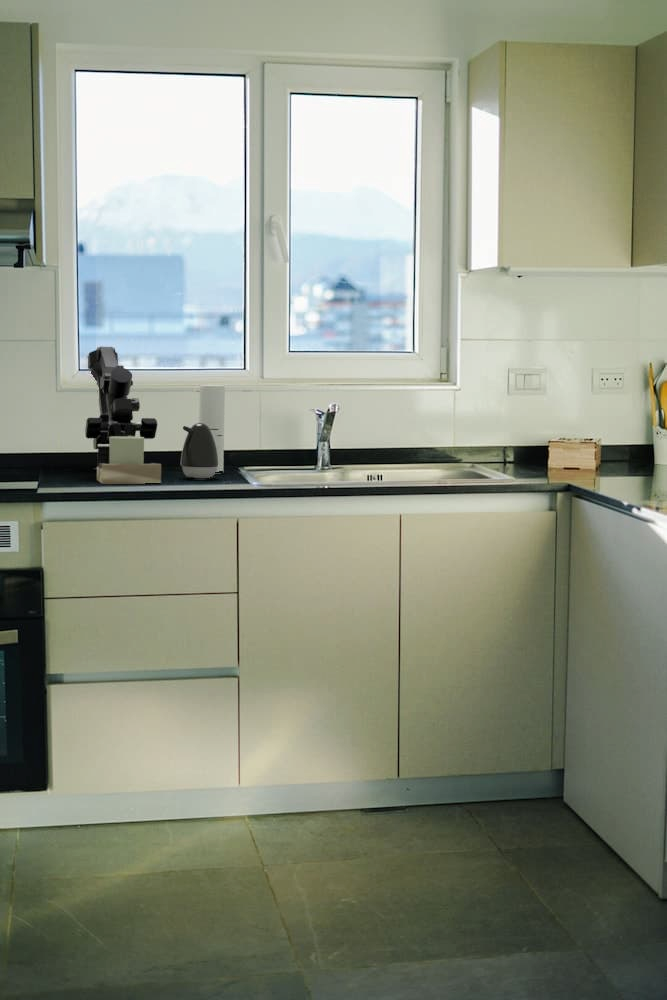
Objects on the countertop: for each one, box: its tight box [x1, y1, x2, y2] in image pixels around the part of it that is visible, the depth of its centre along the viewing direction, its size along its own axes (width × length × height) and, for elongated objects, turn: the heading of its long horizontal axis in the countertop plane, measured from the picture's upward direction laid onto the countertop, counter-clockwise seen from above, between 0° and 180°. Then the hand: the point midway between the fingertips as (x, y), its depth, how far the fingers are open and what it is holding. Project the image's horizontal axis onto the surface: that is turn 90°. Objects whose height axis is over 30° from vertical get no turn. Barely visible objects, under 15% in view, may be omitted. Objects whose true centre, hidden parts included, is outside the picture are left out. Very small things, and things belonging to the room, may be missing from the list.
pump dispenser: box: [180, 422, 218, 479], centre depth 333 cm, size 10×10×15 cm
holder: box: [96, 462, 162, 485], centre depth 319 cm, size 10×15×5 cm
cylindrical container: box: [198, 384, 226, 472], centre depth 353 cm, size 7×7×25 cm
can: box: [108, 435, 145, 464], centre depth 321 cm, size 9×9×12 cm
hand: (124, 451), depth 325 cm, fingers closed, pressing on can
